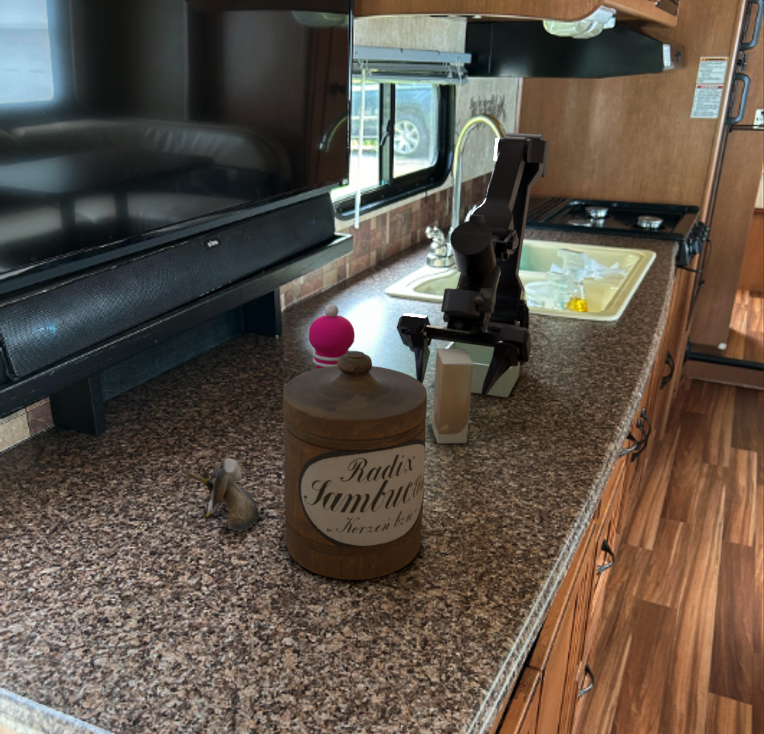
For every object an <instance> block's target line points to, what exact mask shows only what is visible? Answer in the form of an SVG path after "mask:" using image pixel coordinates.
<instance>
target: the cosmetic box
mask: <svg viewBox="0 0 764 734" xmlns="http://www.w3.org/2000/svg"><path fill="white" fill-rule="evenodd" d="M435 349H436V351H435V352H436V353H435V367H434V368H435V369H434V385H433V399H432V400H433V401H432V414H431V415H432V417H431V428H432V431H433V435H434V438H435V440H436V444H467V442H468V432H469V422H470V421H469V420H470V408H471V397H472V392H471V387H472V376H473V362H472V360H471V358H470V356H469V354H468V353H467V351H466V349H445V348H435Z"/></svg>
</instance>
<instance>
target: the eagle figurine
mask: <svg viewBox="0 0 764 734" xmlns="http://www.w3.org/2000/svg"><path fill="white" fill-rule="evenodd" d="M240 469H241V467H240V465H239V463H238V461H236V460H235V459H233V458H227V457H226V458H225V459H224V460H223V464H221V465H220V469H219V465H218V464H215V468H214V471H213V473H212V474H211V476H209V473H208V471H207V469H206V468H205V466H201V468H200V470H199V474H197V473H194V472H192V471H190V470H189V469H188V468H183V469H182V471H183V472H184V473H185V475H186V476H188V477H189V478H191V479H193V480H196V481H198V482H200V483H201V484H203V485H204V487H206V488H207V490H208V492H209V493H210V495H209V496H210V497H209V502H208V507H207V512H206V515H205V517H206V518H208V517H210V515H212V514H214V513H215V512H216V510H217V508H218V506H219V504H220V503H222V502H223V503H225V505H226V507H227V508H226V509H227V511H228V518H227V526H228V529H229V530H232V531H234V532H237V531H238V532H239V533H243V532H247V531H249V529H252V528H253V526H254V525H256V524H257V521H258V520H259V518H260V516H259V515H260V511H259V507H258V505H257V503H256V502H255V499H254V497H253V496H252V495H251V493H250V492H249V491H247V489H245V488H244V487H242V486H241V485H240V484H238V483H237V482H238V481H240V480H241V479H242V472H241V470H240Z"/></svg>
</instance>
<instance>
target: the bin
mask: <svg viewBox="0 0 764 734" xmlns="http://www.w3.org/2000/svg"><path fill="white" fill-rule="evenodd" d="M444 349H466V351H467V353H468V354H469V356H470V358H471V360H472V362H473V376H472V387H471V393H473V394H474V393H475V394H480V395H481V392H482V387H483V383H484V380H485V377H486V374H487V371H488V368H489V365H490V362H491V359H492V356H493V351H494V347H487V346H480V345H472V344H465V343H457V342H450V341H449V343H448V345H447V346H446V347H445V348H444ZM520 367H521V362H519V364H518V366H511V367H510V368H509V369H508V370H507V371H506V372H505V373H504V374H503V375H502V376H501V377H500V378H499V379H498V380H497V382H496V383H495V384H494V386H493V387H492V388H491V389H490V391H489V392H488V393H487V395H489V396H493V397H502V398H506V399H507V398H509V396H510V394H511V392H512V390H513V388H514V386H515V384H516V382H517V381H518V379H519V376H520ZM487 395H486V396H487Z"/></svg>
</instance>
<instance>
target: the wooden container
mask: <svg viewBox="0 0 764 734" xmlns="http://www.w3.org/2000/svg"><path fill="white" fill-rule="evenodd" d="M427 406H428V391H427V388H426V387H425V386H424V383H421V382H419V381H418V380H417V378H415V377H413V376H411V375H409V374H407V373H405V372H402V371H399V370H395V369H391V368H387V367H381V366H375V365H373V362H372V358H371V356H369V355H368V354H366V353H365V352H363V351H359V350H349V352H347V353H346V354H344V355H342V356H341V357H340V358H339V360H338V363H337V366H330V367H323V368H319V369H312V370H308V371H305V372H302V373H301V374H298V375H297V376H294V377H293V378H292V379H291V380H289V381H288V382H287V383H286V384H285V386H284V388H283V392H282V414H283V415H282V418H283V423H284V424H283V425H284V428H283V430H284V432H283V433H284V474H283V475H284V482H283V483H284V485H283V486H284V487H283V491H284V493H283V495H284V497H283V499H284V514H285V520H284V521H285V523H284V524H285V543H286V549H287V551H288V553H289V555H290V557H291V558H292V559H293V561H295V562H296V563H297V564H298V565H300V566H301V567H303V568H304V569H305V570H308V571H310V572H312V573H314V574H317V575H320V576H323V577H327V578H331V579H337V580H346V581H348V580H349V581H358V580H359V581H360V580H370V579H374V578H379V577H384V576H388V575H390V574H393V573H395V572H397V571H399V570H401V569H402V568H404V567H406V566H407V565H409V564H410V563H411V562H412V561H413V560H414V558H416V557H417V554H418V553H419V550H420V548H421V543H422V542H421V540H422V528H423V527H422V526H423V514H424V513H423V512H424V501H425V500H424V499H425V498H424V497H425V496H424V495H425V474H426V473H425V472H426V471H425V467H426V465H425V463H426V462H425V461H426V437H427V436H426V434H427V433H426V432H427V430H426V429H427V424H426V420H427Z"/></svg>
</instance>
